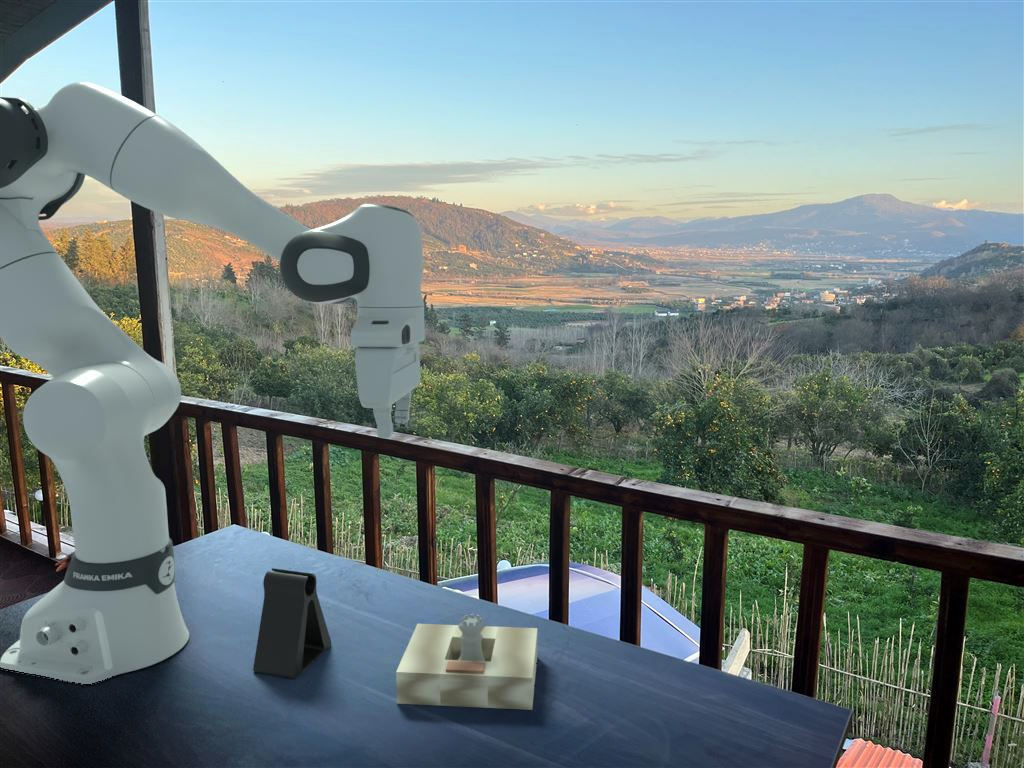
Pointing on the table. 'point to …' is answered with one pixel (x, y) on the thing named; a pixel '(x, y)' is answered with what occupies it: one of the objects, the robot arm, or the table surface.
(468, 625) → the rook chess piece
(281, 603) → the phone stand
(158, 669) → the table surface
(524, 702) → the socket block
